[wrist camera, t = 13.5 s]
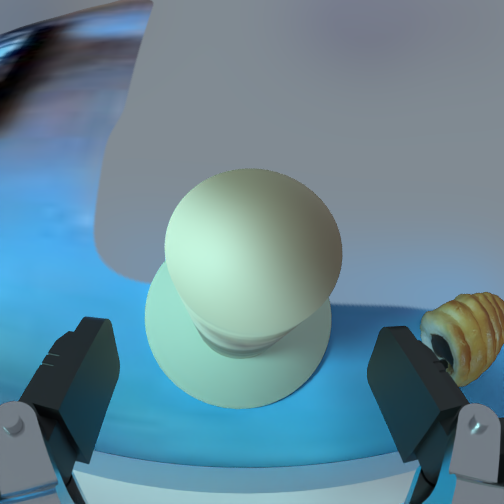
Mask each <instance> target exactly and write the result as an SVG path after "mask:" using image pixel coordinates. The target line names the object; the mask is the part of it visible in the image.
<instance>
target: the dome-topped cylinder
mask: <svg viewBox="0 0 504 504" xmlns="http://www.w3.org/2000/svg"><path fill="white" fill-rule="evenodd" d="M165 258H166V263H167V268H168V271H169V274H170V276H171V279H172V281H173V283H174V286H175V288H176V290H177V292H178V294H179V296H180V298H181V300H182V302H183V303H184V305H185V307H186V309H187V311H188V313H189V315H190V317H191V319H192V321H193V323H194V325H195V327H196V329H197V330H198V332H199V334H200V336H201V338H202V339H203V341H204V342H205V343H206V344H207V345H208V346H209V347H210V348H211V349H212V350H214V351H215V352H217V353H218V354H220V355H223V356H225V357H229V358H235V359H245V358H250V357H254V356H256V355H259V354H261V353H262V352H264V351H265V350H267V349H268V348H270V347H271V346H272V345H274V344H275V343H276V342H277V341H279V340H280V339H281V338H283V337H284V336H285V335H287V334H288V333H289V332H290V331H292V330H293V329H294V328H295V327H297V326H298V325H299V324H301V323H302V322H303V321H304V320H306V319H307V318H308V317H309V316H311V315H312V314H313V313H314V312H315V311H316V310H317V309H318V308H320V307H321V306H322V305H323V303H324V302H325V301H326V300H327V298H328V297H329V296H330V294H331V292H332V291H333V289H334V287H335V285H336V282H337V280H338V277H339V274H340V270H341V265H342V244H341V237H340V233H339V230H338V227H337V224H336V222H335V220H334V218H333V216H332V214H331V213H330V211H329V209H328V208H327V206H326V205H325V204H324V203H323V201H322V200H321V199H320V198H319V197H318V196H317V195H316V194H315V193H314V192H313V191H311V190H310V189H309V188H307V187H306V186H305V185H303V184H302V183H300V182H298V181H297V180H295V179H293V178H291V177H288V176H286V175H283V174H280V173H277V172H273V171H269V170H263V169H238V170H232V171H227V172H224V173H220V174H218V175H215V176H213V177H211V178H209V179H207V180H205V181H203V182H202V183H200V184H198V185H197V186H196V187H194V188H193V189H192V190H191V191H190V192H189V193H188V194H187V195H186V196H185V197H184V198H183V199H182V200H181V202H180V203H179V204H178V206H177V207H176V209H175V211H174V213H173V214H172V216H171V219H170V221H169V225H168V228H167V232H166V237H165Z"/></svg>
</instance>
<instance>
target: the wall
mask: <svg viewBox="0 0 504 504" xmlns="http://www.w3.org/2000/svg"><path fill="white" fill-rule="evenodd" d="M419 465H420V464H419V461H418V460H414V461H411V462H407V463H403V461H402V459H401V456H400V454H399V452H398V451H397V452H393V453H388V454H383V455H378V456H373V457H367V458H361V459H355V460H348V461H341V462H334V463H325V464H316V465H305V466H291V467H269V468H227V467H205V466H191V465H180V464H170V463H162V462H154V461H147V460H140V459H134V458H128V457H123V456H118V455H113V454H108V453H103V452H98V451H94V450H93V454H92V457H91V460H90V463H89V464H85V463H81V462H78V461H75V464H74V467H73V470H72V471H73V473H74V475H75V477H76V479H77V481H78V483H79V486H80V488H81V490H82V492H83V494H84V496H85V498H86V500H87V502H88V504H401V503H404V502H405V499H406V497H407V494H408V491H409V489H410V486H411V483H412V480H413V477H414V474H415V472H416V469H417V468H418V466H419Z"/></svg>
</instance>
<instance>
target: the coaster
mask: <svg viewBox="0 0 504 504" xmlns="http://www.w3.org/2000/svg"><path fill="white" fill-rule="evenodd" d="M145 327H146V334H147V338H148V342H149V345H150V348H151V350H152V353H153V355H154V357H155V359H156V361H157V363H158V364H159V366H160V368H161V369H162V370H163V371H164V373H165V374H166V375H167V377H168V378H169V379H170V380H171V381H172V382H173V383H174V384H175V385H176V386H178V387H179V388H180V389H182V390H183V391H184V392H186V393H187V394H189V395H191V396H192V397H194V398H196V399H198V400H200V401H203V402H205V403H208V404H211V405H215V406H219V407H223V408H233V409H245V408H254V407H260V406H264V405H267V404H270V403H273V402H276V401H278V400H280V399H282V398H284V397H286V396H288V395H289V394H291V393H292V392H294V391H295V390H297V389H298V388H299V387H300V386H301V385H302V384H303V383H304V382H306V381H307V379H308V378H309V377H310V376H311V375H312V374H313V372H314V371H315V370H316V368H317V366H318V365H319V363H320V362H321V360H322V358H323V355H324V353H325V351H326V348H327V345H328V341H329V338H330V331H331V307H330V301H329V297H328V298H327V300H326V301H325V302H324V303H323V305H322V306H321V307H320V308H318V309H317V310H316V311H315V312H314V313H313V314H312V315H311V316H309V317H308V318H307V319H306V320H304V321H303V322H302V323H301V324H299V325H298V326H297V327H295V328H294V329H293V330H292V331H290V332H289V333H288V334H287V335H285V336H284V337H283V338H281V339H280V340H279V341H277V342H276V343H275V344H274V345H272V346H271V347H270V348H268V349H267V350H265V351H264V352H262V353H261V354H259V355H256V356H254V357H250V358H245V359H235V358H229V357H225V356H223V355H220V354H218V353H217V352H215V351H214V350H212V349H211V348H210V347H209V346H208V345H207V344H206V343H205V342H204V341H203V339H202V338H201V336H200V334H199V332H198V330H197V329H196V327H195V325H194V323H193V321H192V319H191V317H190V315H189V313H188V311H187V309H186V307H185V305H184V303H183V302H182V300H181V298H180V296H179V294H178V292H177V290H176V288H175V286H174V283H173V281H172V279H171V276H170V274H169V271H168V268H167V263H166V260H165V262H164V263H163V264H162V265H161V267H160V269H159V270H158V272H157V273H156V275H155V277H154V279H153V281H152V283H151V286H150V289H149V292H148V295H147V300H146V306H145Z"/></svg>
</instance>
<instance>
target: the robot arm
mask: <svg viewBox="0 0 504 504" xmlns="http://www.w3.org/2000/svg"><path fill="white" fill-rule="evenodd" d="M119 371H120V362H119V356H118V352H117V347H116V343H115V338H114V333H113V328H112V324H111V321H110V320H109V319H103V318H94V317H84V318H83V319H82V320H81V322H80V323H79V325H78V326H77V328H76V330H75V331H74V332H71V331H68V332H67V333H66V334H64V335H63V336H62V337H60V338H59V339H58V340H56V341H55V343H54V345H53V346H52V348H51V349H50V351H49V352H48V355H46V357H45V358H44V360H43V362H42V365H40V366H39V368H38V369H37V371H36V373H35V374H34V376H33V378H32V379H31V381H30V383H29V384H28V386H27V388H26V389H25V391H24V393H23V394H22V396H21V398H20V399H19V401H11V402H7V403H4V404H2V405H0V504H88V502H87V500H86V498H85V496H84V494H83V492H82V490H81V488H80V486H79V483H78V481H77V479H76V477H75V475H74V473H73V471H72V470H73V467H74V464H75V461H78V462H81V463H85V464H89V463H90V460H91V457H92V454H93V450H94V447H95V444H96V441H97V438H98V435H99V432H100V429H101V426H102V423H103V420H104V417H105V414H106V411H107V408H108V405H109V402H110V400H111V397H112V394H113V391H114V389H115V386H116V383H117V380H118V377H119ZM367 379H368V383H369V385H370V388H371V390H372V392H373V394H374V396H375V399H376V401H377V403H378V405H379V408H380V410H381V412H382V414H383V417H384V419H385V421H386V424H387V426H388V428H389V430H390V433H391V435H392V437H393V440H394V442H395V444H396V447H397V449H398V452H399V454H400V456H401V459H402V461H403V463H407V462H411V461H414V460H418V461H419V464H420V465H419V466H418V468H417V469H416V472H415V474H414V477H413V480H412V483H411V486H410V489H409V491H408V494H407V497H406V499H405V502H404V504H504V418H498V417H497V415H496V414H495V413H494V412H493V411H492V410H491V409H490V408H488V407H487V406H485V405H482V404H477V403H472V404H470V403H469V402H468V400H467V399H466V397H465V396H464V394H463V393H462V391H461V390H460V389H459V387H458V386H457V384H456V383H455V381H454V380H453V378H452V377H451V376H450V374H449V373H448V372H446V369H445V367H444V366H443V364H442V363H440V360H439V359H438V357H437V356H436V355H435V353H434V352H433V351H432V349H430V348H429V347H428V346H426V345H425V344H424V343H422V342H421V341H420V340H417V339H416V338H415V336H414V335H413V334H412V332H411V331H410V330H409V328H408V327H406V326H394V327H383V328H382V329H381V330H380V332H379V335H378V338H377V341H376V344H375V347H374V350H373V353H372V355H371V358H370V361H369V364H368V368H367Z"/></svg>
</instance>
